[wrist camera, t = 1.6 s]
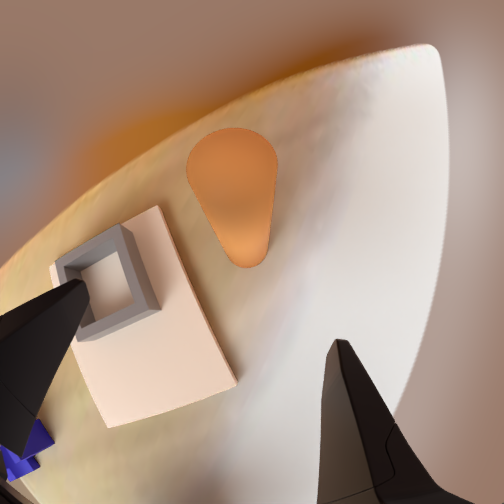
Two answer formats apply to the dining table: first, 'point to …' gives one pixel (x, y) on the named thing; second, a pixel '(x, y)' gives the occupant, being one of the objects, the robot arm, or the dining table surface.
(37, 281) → the dining table surface
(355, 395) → the robot arm
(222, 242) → the toggle bar
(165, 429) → the dining table surface
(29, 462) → the cable clip
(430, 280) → the dining table surface
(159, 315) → the keeper plate
